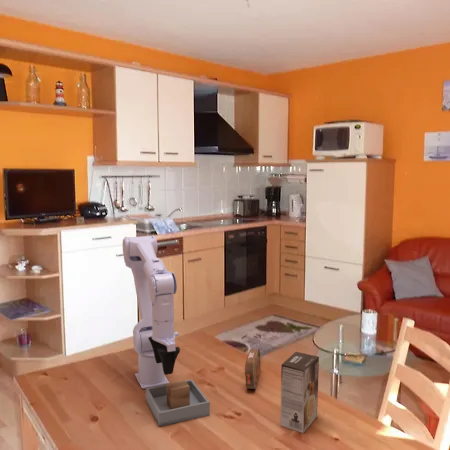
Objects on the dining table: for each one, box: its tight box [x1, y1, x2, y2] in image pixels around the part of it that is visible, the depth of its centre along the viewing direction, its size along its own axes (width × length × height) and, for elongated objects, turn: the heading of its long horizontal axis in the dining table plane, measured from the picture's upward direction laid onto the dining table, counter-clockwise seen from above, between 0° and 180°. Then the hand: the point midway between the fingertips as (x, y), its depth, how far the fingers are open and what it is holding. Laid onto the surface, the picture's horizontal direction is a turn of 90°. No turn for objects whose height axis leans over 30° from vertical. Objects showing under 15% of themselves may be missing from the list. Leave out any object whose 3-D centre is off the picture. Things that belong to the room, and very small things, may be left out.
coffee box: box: [280, 351, 320, 434], centre depth 111 cm, size 9×6×16 cm
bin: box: [145, 379, 211, 428], centre depth 117 cm, size 13×13×4 cm
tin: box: [244, 348, 261, 390], centre depth 131 cm, size 15×3×8 cm, turn 168°
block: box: [165, 379, 190, 409], centre depth 117 cm, size 4×5×6 cm
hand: (164, 367), depth 119 cm, fingers open, 7 cm apart
